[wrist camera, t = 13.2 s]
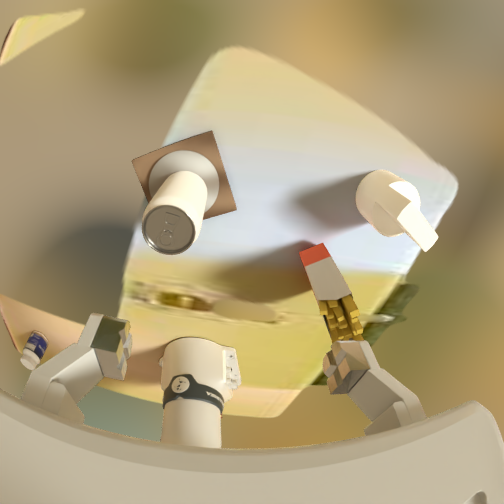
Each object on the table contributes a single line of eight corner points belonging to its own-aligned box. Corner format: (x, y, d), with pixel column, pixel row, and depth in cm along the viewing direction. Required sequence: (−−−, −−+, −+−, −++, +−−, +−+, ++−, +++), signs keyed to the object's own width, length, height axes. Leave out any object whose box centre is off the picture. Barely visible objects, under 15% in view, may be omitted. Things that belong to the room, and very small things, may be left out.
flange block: (236, 207, 40) (236, 211, 39) (163, 229, 41) (160, 234, 40) (212, 130, 34) (211, 131, 33) (133, 159, 35) (130, 161, 33)
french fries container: (310, 291, 50) (339, 369, 35) (293, 245, 44) (324, 326, 29) (333, 282, 49) (369, 357, 34) (318, 234, 44) (361, 310, 28)
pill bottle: (51, 347, 55) (38, 374, 47) (35, 340, 54) (22, 367, 46) (46, 333, 52) (32, 362, 44) (30, 327, 51) (15, 354, 43)
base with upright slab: (408, 192, 41) (451, 222, 30) (377, 229, 44) (412, 268, 34) (379, 158, 37) (424, 182, 27) (344, 200, 41) (380, 235, 31)
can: (157, 205, 37) (132, 247, 27) (170, 163, 34) (145, 192, 24) (199, 219, 39) (189, 266, 29) (214, 178, 36) (208, 213, 26)
